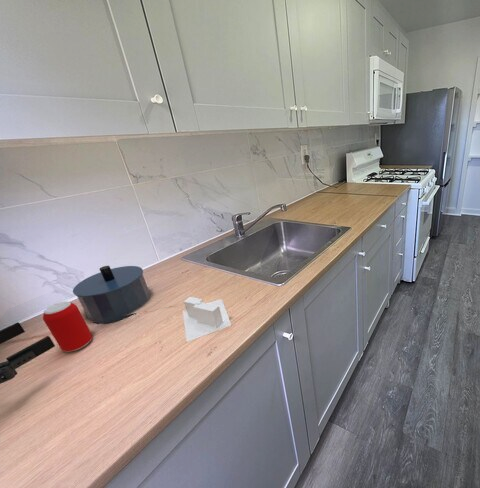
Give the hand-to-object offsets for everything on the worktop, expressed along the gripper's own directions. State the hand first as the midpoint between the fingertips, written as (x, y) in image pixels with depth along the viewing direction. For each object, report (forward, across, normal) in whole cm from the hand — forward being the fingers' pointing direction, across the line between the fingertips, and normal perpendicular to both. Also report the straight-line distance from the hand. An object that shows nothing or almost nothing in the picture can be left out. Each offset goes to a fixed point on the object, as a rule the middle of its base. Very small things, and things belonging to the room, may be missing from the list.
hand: (36, 333), depth 60 cm
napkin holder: (+25, +24, -8) cm, 35 cm away
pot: (+20, -6, -8) cm, 22 cm away
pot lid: (+20, -6, +1) cm, 21 cm away
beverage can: (+5, 0, -8) cm, 10 cm away
